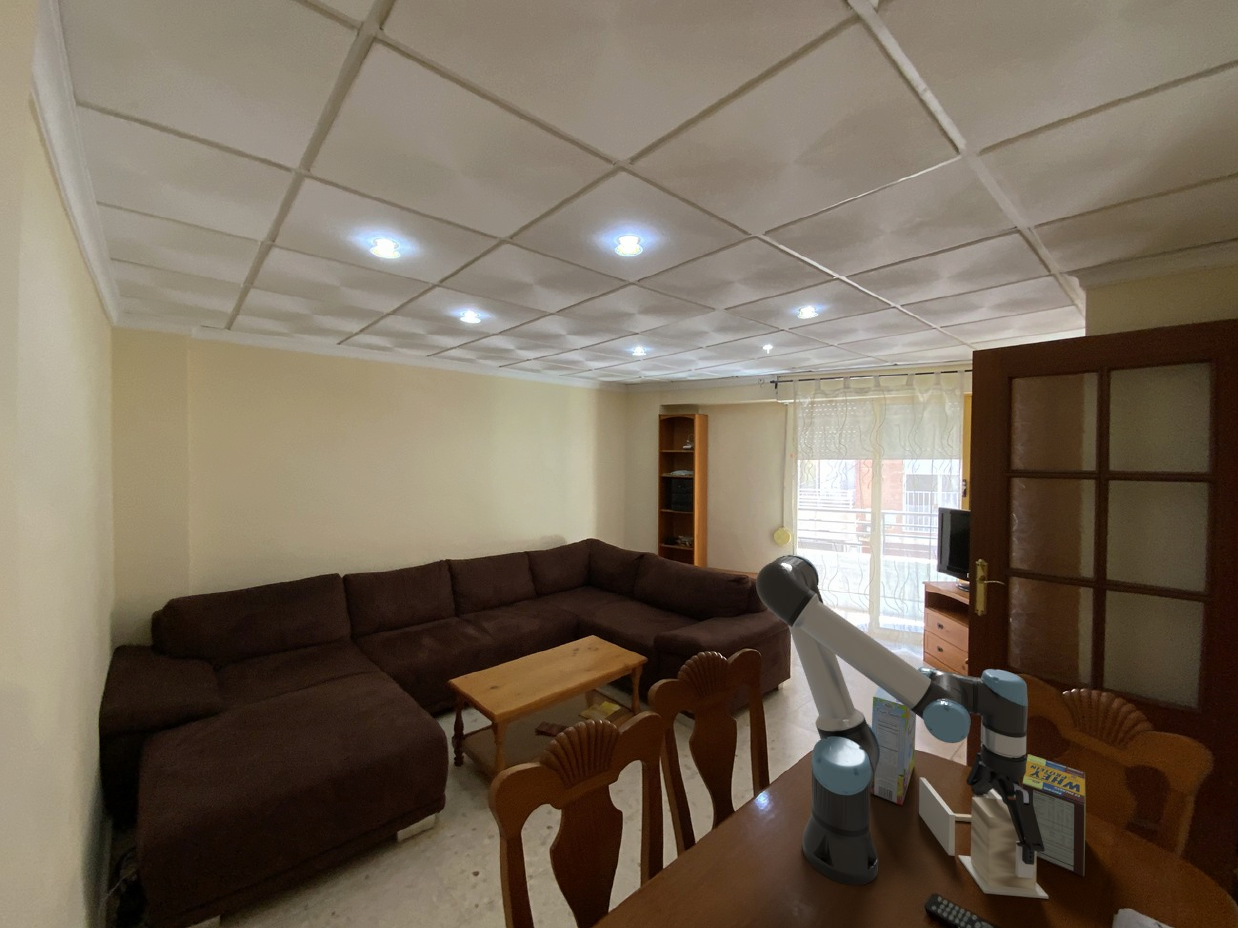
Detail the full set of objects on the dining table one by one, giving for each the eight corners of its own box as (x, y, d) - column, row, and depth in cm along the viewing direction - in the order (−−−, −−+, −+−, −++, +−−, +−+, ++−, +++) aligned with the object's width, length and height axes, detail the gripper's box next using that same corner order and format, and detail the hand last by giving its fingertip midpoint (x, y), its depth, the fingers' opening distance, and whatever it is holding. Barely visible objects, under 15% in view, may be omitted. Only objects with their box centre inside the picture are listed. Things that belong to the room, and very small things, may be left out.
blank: (988, 884, 102) (989, 816, 101) (970, 861, 108) (971, 796, 107) (1035, 889, 101) (1037, 820, 101) (1015, 865, 107) (1016, 800, 107)
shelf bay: (948, 854, 110) (949, 814, 110) (918, 813, 123) (919, 777, 123) (1023, 861, 108) (1024, 819, 108) (985, 818, 121) (985, 781, 121)
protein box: (1084, 837, 115) (1085, 771, 115) (1084, 878, 104) (1085, 804, 104) (1026, 815, 123) (1027, 752, 123) (1020, 850, 111) (1021, 781, 111)
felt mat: (984, 892, 100) (984, 890, 100) (958, 857, 109) (958, 855, 109) (1048, 898, 99) (1048, 895, 99) (1016, 862, 108) (1016, 859, 108)
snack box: (906, 808, 125) (907, 706, 124) (867, 794, 130) (869, 696, 130) (917, 766, 142) (918, 676, 142) (883, 755, 147) (884, 668, 147)
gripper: (1070, 788, 91) (1068, 903, 91) (984, 718, 116) (982, 808, 116) (1026, 785, 92) (1024, 899, 92) (950, 716, 117) (948, 806, 117)
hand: (1000, 849), depth 104 cm, fingers open, 13 cm apart
